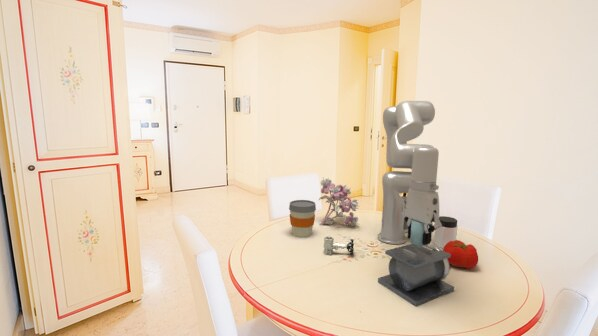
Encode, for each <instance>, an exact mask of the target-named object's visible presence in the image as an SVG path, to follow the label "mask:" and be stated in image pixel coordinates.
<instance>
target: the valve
mask: <svg viewBox="0 0 598 336" xmlns="http://www.w3.org/2000/svg"><path fill="white" fill-rule="evenodd" d="M354 241H355V240H354V238H350V242H348V243H346V245H345V244H343V243H341V244H340V243H339V242H337V241H334V237H333V236H325V237H324V239H323V242H324V243H323V254H324V255H326V256H327V255H328V256H331V255H333V254H334V250H335V251H339V249H341V250H343V249H346V250H347V251H348V253H350V256H354V252H355V251H354V250H355V249H354V245H355V243H354Z"/></svg>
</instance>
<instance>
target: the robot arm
mask: <svg viewBox="0 0 598 336" xmlns="http://www.w3.org/2000/svg"><path fill="white" fill-rule="evenodd" d="M435 115H436V109H435V106H434V104H433V103H432V102H431V101H428V100H404V101H401V102H399V103H398V104H396V105H394V106H388V107H386V108H385V109H384V110H383V113H382V123H383V124H382V125H383V128H384V132H385V134H386V153H385V154H386V157H385V158H386V160H385V161H386V165H387V167H390V168H392V169H410V170H411V171H403V170H400V171H399V170H395V171H394V170H391V171H387V172H385V173H383V175H382V178H381V179H382V180H381V183H382V194H383V195H382V214H381V216H382V217H381V231H380V232H379V233H377V239H378V240H379V241H380V242H382V243H386V244H389V245H401V244H404V243H405V242H406V241H407V239H410V236H411V222H412V219H413V220H416V221H419V222H421V223H423V224H424V229H425V232H424V233H423V240H422V244H423V245H427V244H428V245H431V242H432V233H435V230H436V229H437V228H439V227H441V226H442V224H441V222H440V220H439V217H440V198H439V192H438V190H439V185H437V178H438V168H439V165H438V164H439V155H440V154H439V152H440V151H439V150H438V148H436V147H435V146H433V145H430V144H420V143H419V144H418V143H414V144H413V143H407V142H409V141H413V140H415V139H417V138H419V137H420V136H421V135H422V134H423V133H424V132H423V131H424V126H427V125H429V124H431V123H432V122H433V121H434V118H435ZM403 193H407V194H406V197H407V199H406V206H405V202H404V200H403V198H402V197H401V194H403ZM404 218H405V221H406V222H407V226H408V229H405V230H404V229H403V224H404ZM428 225H429V227H428ZM406 234H407V237H406V236H405V235H406Z"/></svg>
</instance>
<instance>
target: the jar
mask: <svg viewBox="0 0 598 336" xmlns="http://www.w3.org/2000/svg"><path fill="white" fill-rule="evenodd" d="M439 220H440V222H441V224H442V226H441V227H439V228H437V229H436V230H434V238H433V239H434V240H433V244H434V246H436V247H438V248H440V249H444V246H445V245H446V244H447V243H448V242H449V241H455V240H457V236H458V220H457V218H454V217H451V216H442V215H441V216H440V215H439Z"/></svg>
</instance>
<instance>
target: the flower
mask: <svg viewBox="0 0 598 336" xmlns="http://www.w3.org/2000/svg"><path fill="white" fill-rule="evenodd" d="M320 185H321V186H322V188H321V189H320V192H321V193H322V194H325V195H323V196H321V197H319V199H318V201H320V200H323V199H327V200H326V201H325V203H328V204H329V205H328V210H327V212H326V214H325V216H324V218H323V219H322V221H321V222H320V223H319V226H322V225H329V226H331V225H333V224H334V223H335V220H334V219H335V218H344V217H345V221H343V223H344V224H345V225H349V224H350V226H352V227H354V226H356V225H359V223H358V221H359V217H358V216H354V212H356V211H357V210H359V207H358V204H359V202H358V199H353V200H352V199H351V197H350V196H349V195H351V194H352V192H351V187H348V186H347V184H345V185H342V184H337V185H336V184H335V183H333V182H332V180H331V179H329V178H325V179H324V178H322V180H321V181H320ZM328 194H330V195H329V196H328ZM335 202H336V203H335ZM338 202H339V203H338ZM331 207H333V208H332V209H331ZM340 210H341V211H340ZM339 211H340V212H339ZM332 213H335V216H333V217H330V216H331V215H332ZM344 213H349V214H348V215H349V216H347V215H344Z"/></svg>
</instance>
